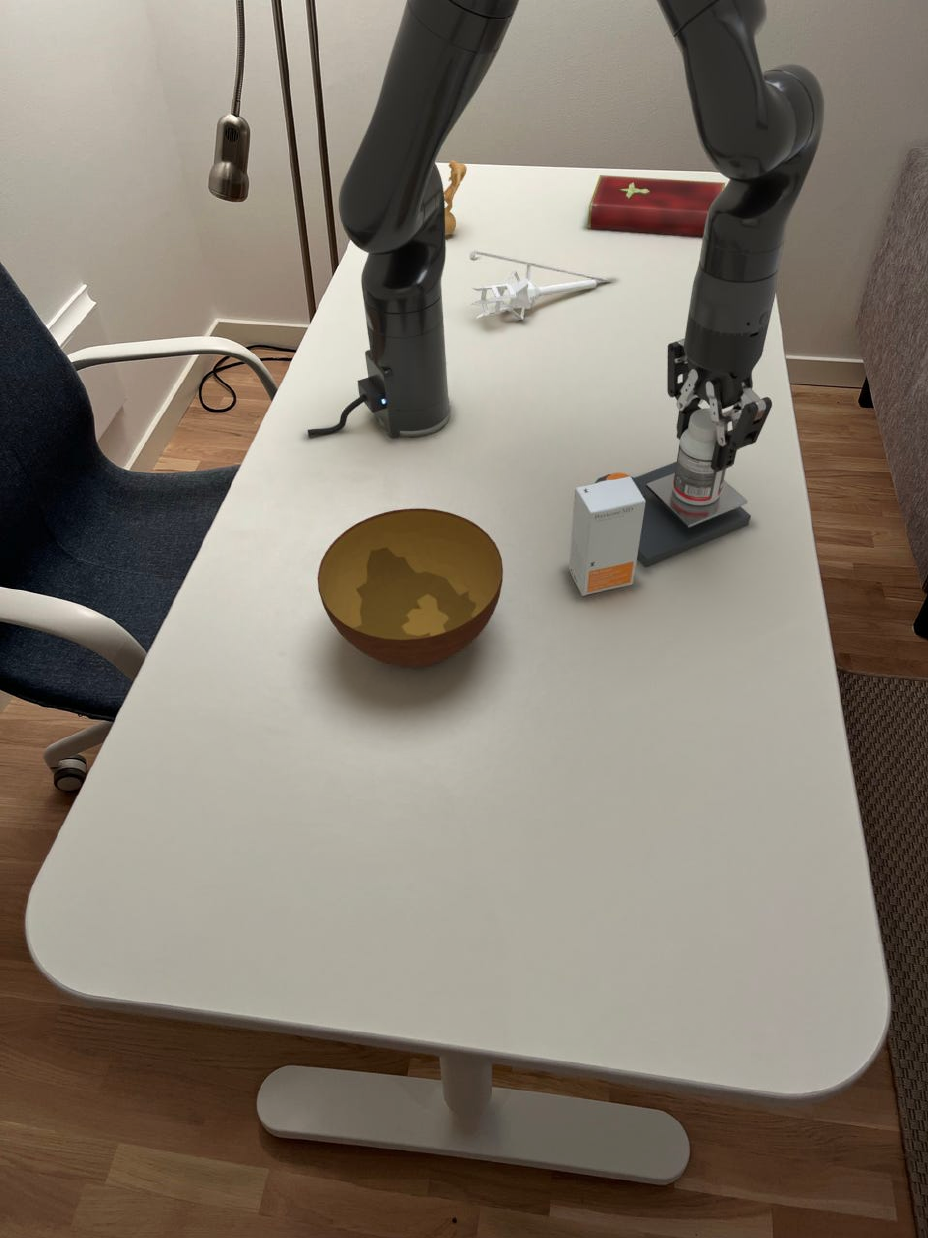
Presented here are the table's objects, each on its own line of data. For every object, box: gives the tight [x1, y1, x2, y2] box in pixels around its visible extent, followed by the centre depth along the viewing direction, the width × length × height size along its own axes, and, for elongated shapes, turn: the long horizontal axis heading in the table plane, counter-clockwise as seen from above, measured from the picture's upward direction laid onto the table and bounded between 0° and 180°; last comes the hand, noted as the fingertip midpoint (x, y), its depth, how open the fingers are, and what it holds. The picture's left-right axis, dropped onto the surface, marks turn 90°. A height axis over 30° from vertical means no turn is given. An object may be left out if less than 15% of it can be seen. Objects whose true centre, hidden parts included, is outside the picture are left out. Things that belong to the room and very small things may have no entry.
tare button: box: [606, 472, 630, 480], centre depth 105 cm, size 3×3×2 cm
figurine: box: [444, 159, 468, 237], centre depth 151 cm, size 8×6×12 cm
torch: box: [468, 249, 612, 321], centre depth 137 cm, size 6×9×25 cm
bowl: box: [317, 507, 504, 668], centre depth 92 cm, size 18×18×10 cm
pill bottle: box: [673, 407, 730, 505], centre depth 101 cm, size 5×5×10 cm
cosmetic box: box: [568, 475, 646, 597], centre depth 96 cm, size 6×4×12 cm
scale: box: [593, 461, 752, 568], centre depth 106 cm, size 14×12×3 cm
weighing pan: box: [646, 473, 749, 528], centre depth 104 cm, size 8×8×1 cm
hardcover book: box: [587, 174, 726, 238], centre depth 155 cm, size 12×21×4 cm, turn 76°
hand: (703, 452), depth 100 cm, fingers closed on pill bottle, 5 cm apart
